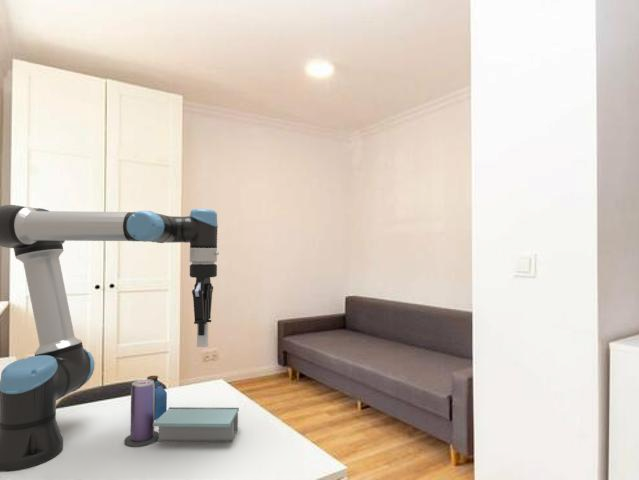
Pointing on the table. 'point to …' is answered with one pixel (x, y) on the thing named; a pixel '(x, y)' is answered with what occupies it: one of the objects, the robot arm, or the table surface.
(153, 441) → the coaster
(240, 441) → the table surface
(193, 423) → the cover
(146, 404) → the beverage can
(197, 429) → the grey rectangular tray
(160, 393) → the perfume bottle
